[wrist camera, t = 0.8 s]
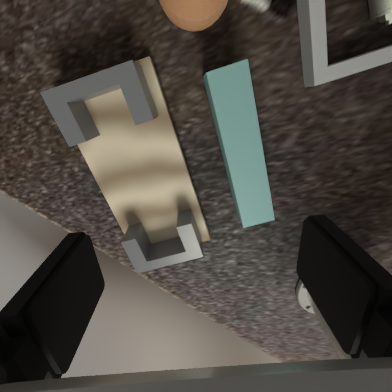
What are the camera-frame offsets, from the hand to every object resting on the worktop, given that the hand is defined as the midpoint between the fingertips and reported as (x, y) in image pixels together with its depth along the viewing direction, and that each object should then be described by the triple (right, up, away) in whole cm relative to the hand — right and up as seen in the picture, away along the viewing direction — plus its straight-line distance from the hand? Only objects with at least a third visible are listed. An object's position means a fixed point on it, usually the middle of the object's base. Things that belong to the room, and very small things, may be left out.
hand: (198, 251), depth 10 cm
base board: (-7, +6, +21) cm, 23 cm away
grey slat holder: (-7, +5, +20) cm, 22 cm away
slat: (+5, +9, +20) cm, 23 cm away
